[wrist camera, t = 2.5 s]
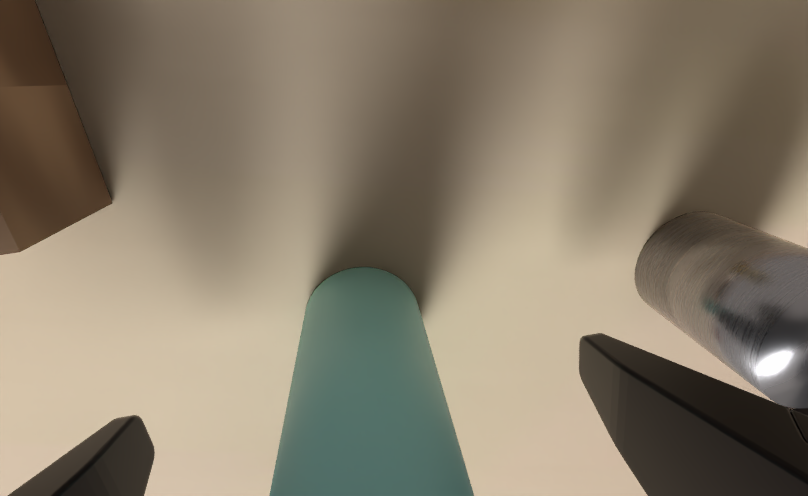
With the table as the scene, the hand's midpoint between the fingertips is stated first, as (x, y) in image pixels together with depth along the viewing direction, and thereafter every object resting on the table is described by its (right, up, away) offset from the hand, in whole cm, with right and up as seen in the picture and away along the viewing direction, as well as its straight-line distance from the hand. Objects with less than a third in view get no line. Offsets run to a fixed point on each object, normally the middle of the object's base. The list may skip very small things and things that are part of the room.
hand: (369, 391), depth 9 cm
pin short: (+9, +2, +3) cm, 9 cm away
